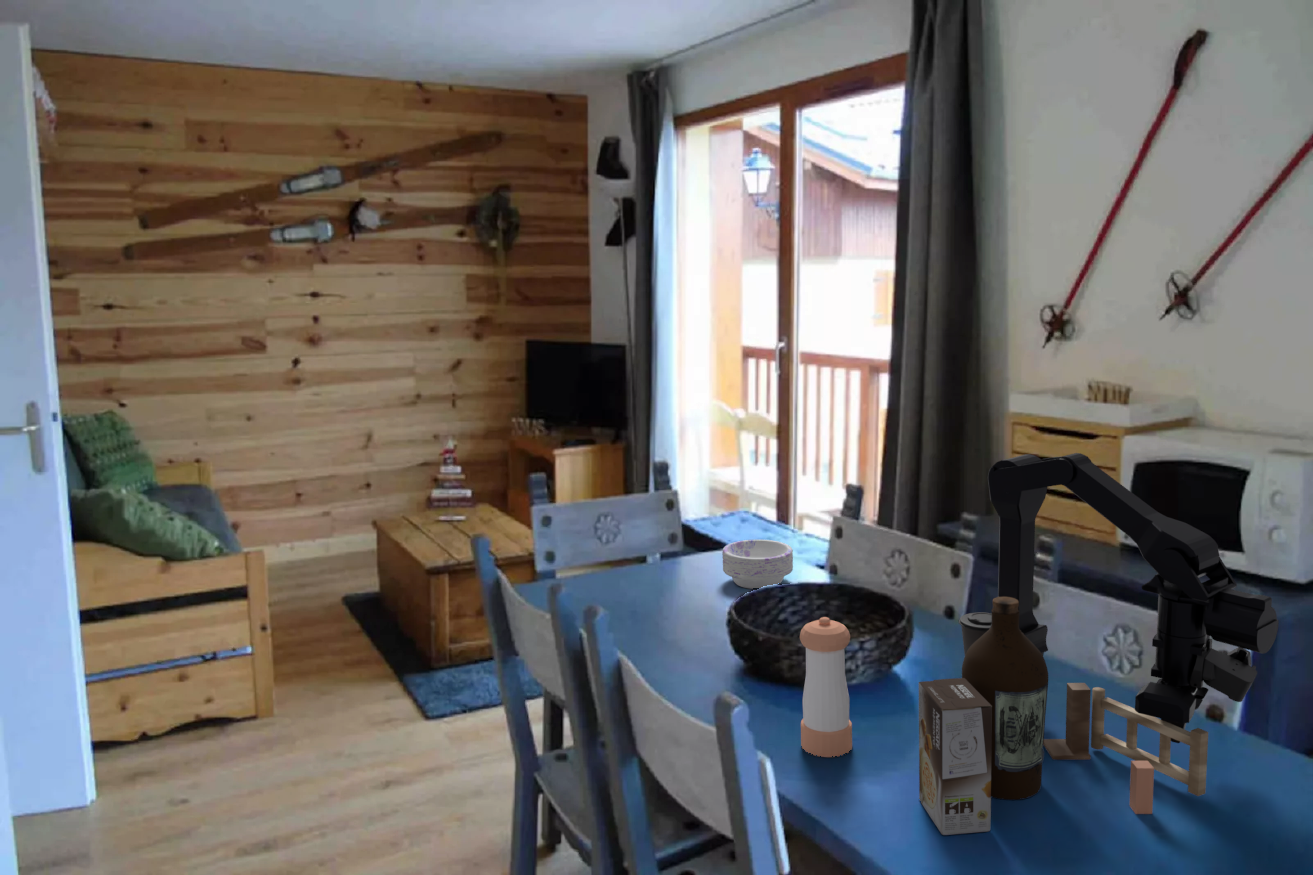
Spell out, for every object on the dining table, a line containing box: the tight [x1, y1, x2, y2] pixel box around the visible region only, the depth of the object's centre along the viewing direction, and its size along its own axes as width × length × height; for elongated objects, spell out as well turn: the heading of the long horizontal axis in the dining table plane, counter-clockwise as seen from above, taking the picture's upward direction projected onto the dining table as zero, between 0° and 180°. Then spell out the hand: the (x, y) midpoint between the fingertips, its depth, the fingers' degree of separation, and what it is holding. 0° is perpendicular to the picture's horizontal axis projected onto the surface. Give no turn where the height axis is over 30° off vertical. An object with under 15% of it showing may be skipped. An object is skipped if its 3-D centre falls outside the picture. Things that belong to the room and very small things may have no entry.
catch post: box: [1128, 760, 1155, 815], centre depth 128 cm, size 2×2×6 cm
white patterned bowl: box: [722, 539, 794, 590], centre depth 226 cm, size 15×15×8 cm
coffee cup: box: [957, 611, 992, 656], centre depth 172 cm, size 8×8×10 cm
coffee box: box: [918, 677, 992, 836], centre depth 128 cm, size 9×6×16 cm
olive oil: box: [961, 596, 1049, 801], centre depth 135 cm, size 11×11×25 cm
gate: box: [1090, 686, 1209, 797], centre depth 137 cm, size 17×2×8 cm, turn 27°
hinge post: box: [1043, 682, 1092, 761], centre depth 144 cm, size 5×5×10 cm
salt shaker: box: [799, 616, 853, 758], centre depth 148 cm, size 7×7×19 cm
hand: (1175, 741), depth 136 cm, fingers closed
